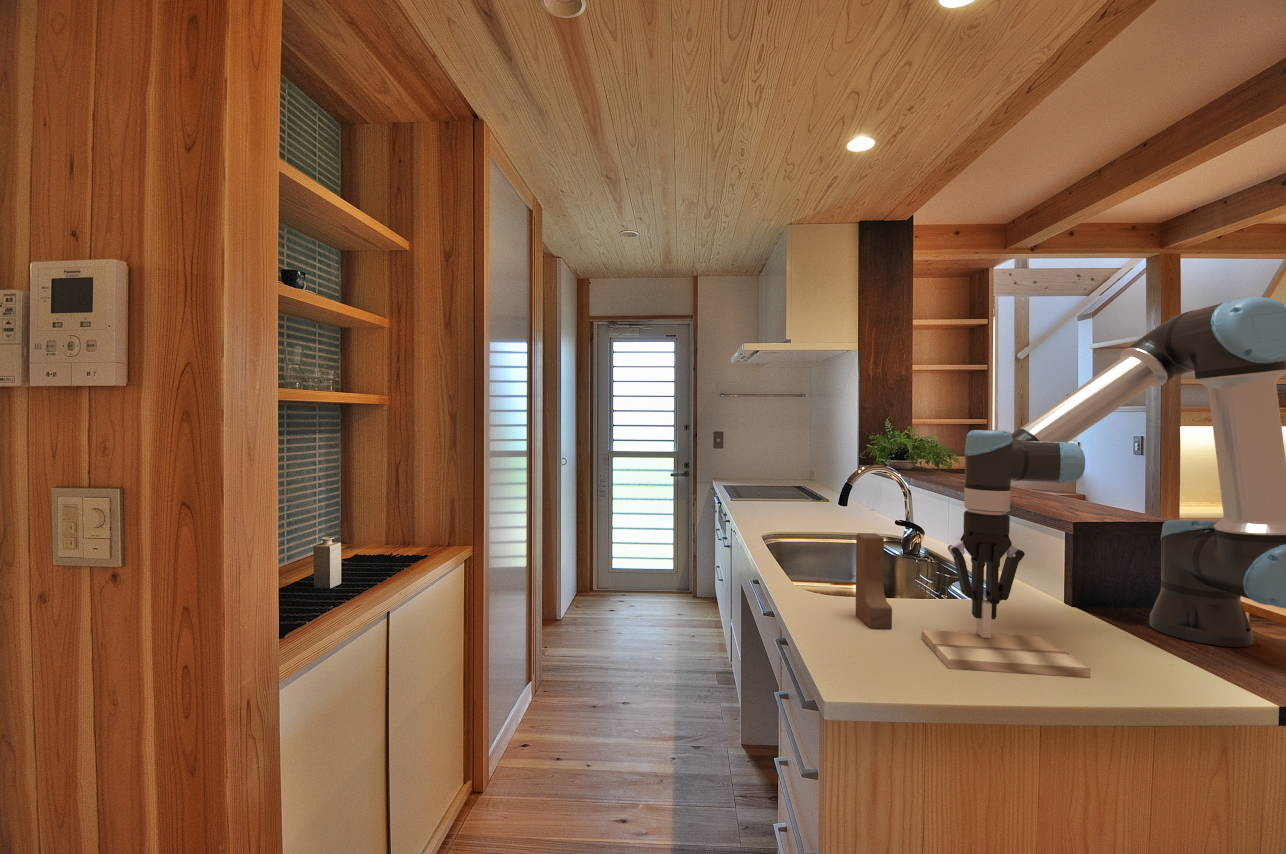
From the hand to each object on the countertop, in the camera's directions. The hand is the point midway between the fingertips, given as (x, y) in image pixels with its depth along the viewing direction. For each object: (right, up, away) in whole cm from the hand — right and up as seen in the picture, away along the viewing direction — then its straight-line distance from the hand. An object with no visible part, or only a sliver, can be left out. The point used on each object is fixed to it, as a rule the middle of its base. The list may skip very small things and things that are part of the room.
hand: (983, 635), depth 110 cm
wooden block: (-16, -2, +13) cm, 20 cm away
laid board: (-1, -2, -9) cm, 9 cm away
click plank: (0, -2, -2) cm, 3 cm away
